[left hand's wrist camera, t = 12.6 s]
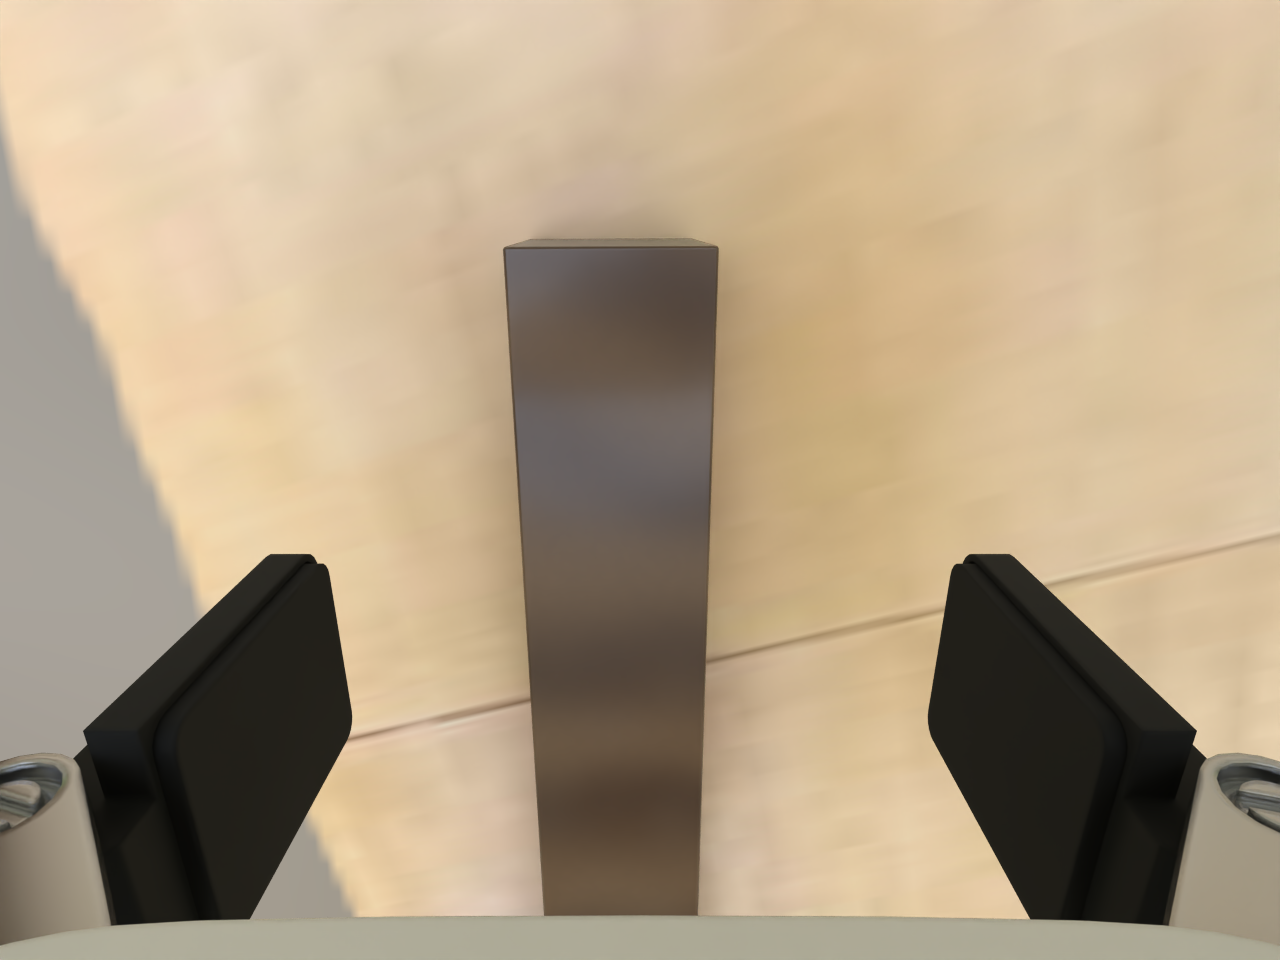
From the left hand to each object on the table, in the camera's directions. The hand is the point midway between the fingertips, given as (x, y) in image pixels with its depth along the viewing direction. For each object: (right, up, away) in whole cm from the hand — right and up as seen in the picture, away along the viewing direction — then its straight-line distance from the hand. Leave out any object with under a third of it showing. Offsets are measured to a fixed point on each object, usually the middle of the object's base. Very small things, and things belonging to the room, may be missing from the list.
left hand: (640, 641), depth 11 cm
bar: (-1, -13, +24) cm, 27 cm away
